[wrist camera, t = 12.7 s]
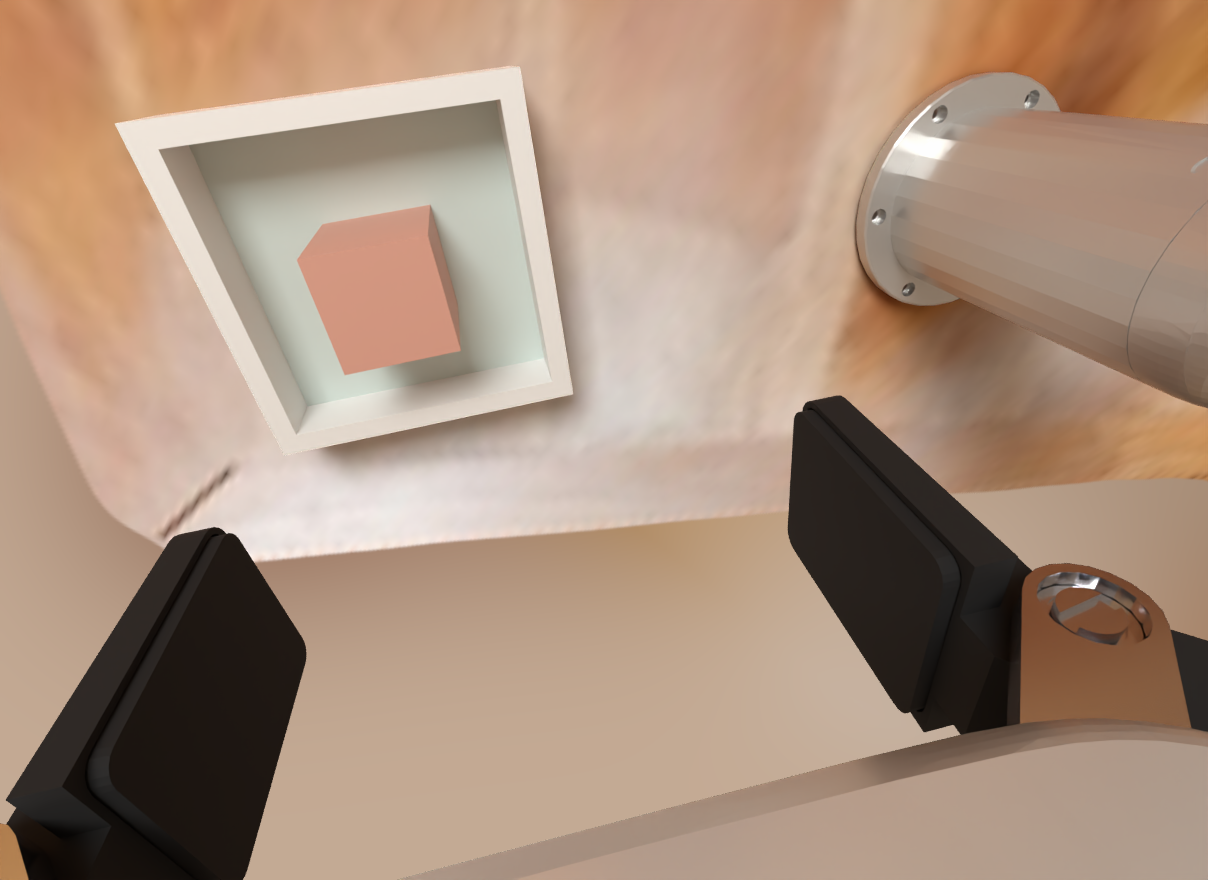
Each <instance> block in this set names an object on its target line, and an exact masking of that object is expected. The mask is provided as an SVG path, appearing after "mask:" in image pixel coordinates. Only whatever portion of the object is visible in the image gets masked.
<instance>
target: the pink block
mask: <svg viewBox="0 0 1208 880" xmlns="http://www.w3.org/2000/svg"><path fill="white" fill-rule="evenodd" d="M297 262H298V264H299V267H300V269H301V272H302V274H303V276H304V279H305V281H306V284H307V286H308V288H309V291H310V293H311V296H312V298H313V300H314V303H315V305H316V308H317V310H318V312H319V315H320V317H321V320H322V322H323V324H324V327H325V329H326V332H327V334H328V336H329V339H330V341H331V343H332V346H333V348H334V351H335V353H336V355H337V358H338V360H339V363H340V365H341V367H342V370H343V372H344V375H349V374H353V373H358V372H363V371H368V370H372V369H377V368H382V367H387V366H391V365H396V364H401V363H406V362H410V361H415V360H420V359H425V358H429V357H434V356H439V355H444V354H448V353H453V352H458V351H461V345H460V330H459V314H458V303H457V300H456V296H455V292H454V289H453V285H452V282H451V278H450V274H449V271H448V267H447V263H446V260H445V256H444V253H443V249H442V245H441V242H440V238H439V234H438V231H437V227H436V224H435V220H434V216H433V213H432V209H431V206H430V205H426V206H420V207H414V208H409V209H403V210H398V211H392V212H387V213H381V214H376V215H370V216H365V217H359V218H354V219H348V220H342V221H337V222H331V223H326V224H322V225H321V227H320V228H319V230H318V231H317V232H316V234H315V235H314V237H313V238H312V239H311V241H310V242H309V243H308V245H307V246H306V248H305V249H304V250H303V252H302V253H301V255H300V256H299V257H298V259H297Z"/></svg>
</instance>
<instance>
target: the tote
mask: <svg viewBox="0 0 1208 880" xmlns="http://www.w3.org/2000/svg"><path fill="white" fill-rule="evenodd" d="M115 125H116V127H117V129H118V131H119V133H120V135H121V137H122V139H123V141H124V143H125V145H126V147H127V149H128V151H129V153H130V155H131V157H132V159H133V161H134V163H135V164H136V166H137V168H138V170H139V172H140V174H141V176H142V178H143V180H144V182H145V184H146V186H147V188H148V190H149V192H150V194H151V196H152V198H153V200H154V202H155V204H156V206H157V208H158V210H159V212H160V214H161V216H162V217H163V219H164V221H165V223H166V225H167V227H168V229H169V231H170V233H171V235H172V237H173V239H174V241H175V243H176V245H177V247H178V249H179V251H180V253H181V255H182V257H183V259H184V261H185V263H186V265H187V267H188V269H189V270H190V272H191V274H192V276H193V278H194V280H195V282H196V284H197V286H198V288H199V290H200V292H201V294H202V296H203V298H204V300H205V302H206V304H207V306H208V308H209V310H210V312H211V314H212V316H213V318H214V320H215V322H216V323H217V325H218V327H219V329H220V331H221V333H222V335H223V337H224V339H225V341H226V343H227V345H228V347H229V349H230V351H231V353H232V355H233V357H234V359H235V361H236V363H237V365H238V367H239V369H240V371H241V373H242V375H243V376H244V378H245V380H246V382H247V384H248V386H249V388H250V390H251V392H252V394H253V396H254V398H255V400H256V402H257V404H258V406H259V408H260V410H261V412H262V414H263V416H264V418H265V420H266V422H267V424H268V426H269V427H270V429H271V431H272V433H273V435H274V437H275V439H276V441H277V443H278V445H279V447H280V449H281V451H282V453H283V455H284V456H285V455H290V454H295V453H300V452H304V451H309V450H314V449H318V448H323V447H328V446H332V445H337V444H342V443H347V442H351V441H356V440H361V439H365V438H370V437H375V436H380V435H384V434H389V433H394V432H398V431H403V430H408V429H413V428H417V427H422V426H427V425H431V424H436V423H441V422H445V421H450V420H455V419H460V418H464V417H469V416H474V415H478V414H483V413H488V412H493V411H497V410H502V409H507V408H511V407H516V406H521V405H525V404H530V403H535V402H540V401H544V400H549V399H554V398H558V397H563V396H568V395H573V389H572V383H571V377H570V371H569V365H568V359H567V352H566V346H565V340H564V334H563V328H562V322H561V316H560V309H559V303H558V297H557V291H556V285H555V279H554V273H553V266H552V260H551V254H550V248H549V242H548V236H547V230H546V223H545V217H544V211H543V205H542V199H541V193H540V187H539V180H538V174H537V168H536V162H535V156H534V150H533V144H532V137H531V131H530V125H529V119H528V113H527V107H526V101H525V94H524V88H523V82H522V76H521V70H520V67H517V66H505V67H498V68H491V69H484V70H477V71H470V72H463V73H455V74H448V75H441V76H434V77H427V78H420V79H412V80H405V81H398V82H391V83H384V84H377V85H370V86H362V87H355V88H348V89H341V90H334V91H327V92H319V93H312V94H305V95H298V96H291V97H284V98H277V99H269V100H262V101H255V102H248V103H241V104H234V105H227V106H219V107H212V108H205V109H198V110H191V111H184V112H176V113H169V114H162V115H156V116H151V117H146V118H141V119H136V120H131V121H126V122H121V123H116V124H115ZM426 205H430V206H431V209H432V213H433V216H434V220H435V224H436V227H437V231H438V234H439V238H440V242H441V245H442V249H443V253H444V256H445V260H446V263H447V267H448V271H449V274H450V278H451V282H452V285H453V289H454V292H455V296H456V300H457V303H458V314H459V330H460V345H461V351H458V352H453V353H448V354H444V355H439V356H434V357H429V358H425V359H420V360H415V361H410V362H406V363H401V364H396V365H391V366H387V367H382V368H377V369H372V370H368V371H363V372H358V373H353V374H349V375H344V372H343V370H342V367H341V365H340V363H339V360H338V358H337V355H336V353H335V351H334V348H333V346H332V343H331V341H330V339H329V336H328V334H327V332H326V329H325V327H324V324H323V322H322V320H321V317H320V315H319V312H318V310H317V308H316V305H315V303H314V300H313V298H312V296H311V293H310V291H309V288H308V286H307V284H306V281H305V279H304V276H303V274H302V272H301V269H300V267H299V264H298V262H297V259H298V257H299V256H300V255H301V253H302V252H303V250H304V249H305V248H306V246H307V245H308V243H309V242H310V241H311V239H312V238H313V237H314V235H315V234H316V232H317V231H318V230H319V228H320V227H321V225H322V224H326V223H331V222H337V221H342V220H348V219H354V218H359V217H365V216H370V215H376V214H381V213H387V212H392V211H398V210H403V209H409V208H414V207H420V206H426Z"/></svg>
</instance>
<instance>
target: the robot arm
mask: <svg viewBox="0 0 1208 880" xmlns="http://www.w3.org/2000/svg"><path fill="white" fill-rule="evenodd" d="M856 228H857V246H858V251H859V256H860V260H861V262H862V264H863V267H864V269H865V271H866V273H867V275H868V276H869V278H870V279H871V280H872V281H873V283H874V284H875V285H876V286H877V287H878V288H879V289H881V290H882V291H884V292H885V293H886V294H888V295H889V296H891V297H893V298H895V299H897V300H899V301H901V302H904V303H908V304H913V305H917V306H935V305H940V304H944V303H949V302H953V301H955V300H958V299H960V298H961V299H963V300H965V301H967V302H969V303H971V304H973V305H976V306H978V307H980V308H982V309H984V310H986V311H989V312H991V313H993V314H995V315H997V316H999V317H1002V318H1004V319H1006V320H1008V321H1010V322H1012V323H1014V324H1017V325H1019V326H1021V327H1023V328H1025V329H1027V330H1030V331H1032V332H1034V333H1036V334H1038V335H1040V336H1042V337H1045V338H1047V339H1049V340H1051V341H1053V342H1055V343H1058V344H1060V345H1062V346H1064V347H1066V348H1068V349H1071V350H1073V351H1075V352H1077V353H1079V354H1081V355H1083V356H1086V357H1088V358H1090V359H1092V360H1094V361H1096V362H1099V363H1101V364H1103V365H1105V366H1107V367H1109V368H1111V369H1114V370H1116V371H1119V372H1121V373H1123V374H1125V375H1127V376H1129V377H1131V378H1133V379H1136V380H1138V381H1140V382H1142V383H1144V384H1147V385H1149V386H1151V387H1154V388H1156V389H1158V390H1160V391H1162V392H1164V393H1167V394H1169V395H1171V396H1173V397H1175V398H1178V399H1181V400H1183V401H1186V402H1189V403H1191V404H1194V405H1197V406H1201V407H1205V408H1208V124H1198V123H1186V122H1175V121H1163V120H1151V119H1140V118H1128V117H1116V116H1105V115H1093V114H1081V113H1070V112H1061V111H1060V109H1059V107H1058V104H1057V102H1056V100H1055V98H1054V97H1053V96H1052V95H1051V94H1050V92H1049V91H1048V90H1047V89H1046V88H1045V86H1043V85H1042V84H1040V83H1039V82H1037V81H1035V80H1034V79H1032V78H1031V77H1028V76H1024V75H1020V74H1016V73H1012V72H987V73H980V74H974V75H969V76H967V77H964V78H962V79H959V80H957V81H954V82H952V83H949V84H948V85H946V86H944V87H943V88H941V89H940V90H938V91H936V92H935V93H933V94H931V95H930V96H928V97H927V98H926V99H925V100H924V101H923V102H921V103H920V104H919V105H918V106H917V107H916V108H915V109H913V110H912V111H911V112H910V113H909V114H908V115H907V116H906V117H905V119H904V120H903V121H902V122H901V123H900V124H899V125H898V127H897V128H896V129H895V130H894V131H893V132H892V134H891V135H890V137H889V138H888V140H887V142H886V143H885V145H884V146H883V148H882V149H881V151H880V152H879V154H878V156H877V158H876V160H875V162H874V164H873V166H872V168H871V170H870V172H869V174H868V176H867V179H866V182H865V185H864V189H863V192H862V195H861V198H860V203H859V209H858V215H857V221H856ZM788 535H789V539H790V542H791V545H792V547H793V549H794V550H795V552H796V553H797V555H798V557H799V558H800V560H801V561H802V563H803V564H804V566H805V567H806V569H807V570H808V572H809V573H810V575H811V577H812V578H813V580H814V581H815V583H816V584H817V586H818V587H819V589H820V590H821V592H822V593H823V595H824V596H825V598H826V600H827V601H828V603H829V604H830V606H831V607H832V609H833V610H834V612H835V613H836V615H837V617H838V618H839V620H840V621H841V623H842V624H843V626H844V627H845V629H846V630H847V632H848V634H849V635H850V636H851V638H852V640H853V641H854V643H855V644H856V646H857V647H858V649H859V650H860V652H861V654H862V655H863V656H864V658H865V660H866V661H867V663H868V664H869V666H870V667H871V669H872V670H873V672H874V674H875V675H876V677H877V678H878V680H879V681H880V683H881V684H882V686H883V687H884V689H885V691H886V692H887V694H888V695H889V697H890V698H891V699H892V701H893V703H894V704H895V705H896V707H897V708H898V709H899V710H900V711H901V712H903V713H909V712H911V714H912V715H913V717H914V718H915V719H916V721H917V723H918V724H919V726H920V727H921V729H922V730H923V732H927V731H931V730H935V729H939V728H943V727H946V726H950V725H954V726H955V727H956V729H957V730H958V731H959V733H960V734H961V735H958V736H954V737H950V738H946V739H942V740H937V741H934V742H930V743H925V744H921V745H916V746H912V747H908V748H904V749H900V750H895V751H891V752H887V753H883V754H879V755H874V756H870V757H866V758H862V759H858V760H853V761H850V762H846V763H842V764H838V765H834V766H830V767H826V768H822V769H818V770H815V771H811V772H807V773H803V774H799V775H795V776H791V777H787V778H784V779H780V780H776V781H772V782H768V783H764V784H760V785H756V786H753V787H749V788H745V789H741V790H737V791H734V792H729V793H725V794H722V795H718V796H714V797H710V798H706V799H703V800H699V801H694V802H691V803H687V804H683V805H679V806H675V807H671V808H667V809H664V810H660V811H656V812H652V813H648V814H644V815H641V816H637V817H633V818H629V819H625V820H622V821H618V822H614V823H611V824H606V825H603V826H599V827H595V828H591V829H587V830H584V831H580V832H576V833H572V834H568V835H565V836H561V837H557V838H553V839H549V840H546V841H542V842H538V843H534V844H531V845H527V846H523V847H519V848H515V849H512V850H508V851H504V852H500V853H496V854H493V855H489V856H485V857H481V858H477V859H474V860H470V861H466V862H462V863H459V864H455V865H451V866H448V867H443V868H440V869H436V870H432V871H428V872H425V873H421V874H417V875H413V876H410V877H406V878H403V879H398V880H1208V641H1207V640H1203V639H1200V638H1197V637H1194V636H1190V635H1187V634H1184V633H1180V632H1177V631H1174V630H1170V626H1169V623H1168V621H1167V619H1166V617H1165V615H1164V612H1163V611H1162V610H1161V608H1159V606H1158V605H1157V604H1156V603H1155V602H1154V601H1153V600H1152V599H1151V598H1150V596H1148V595H1147V594H1146V593H1144V592H1143V591H1141V590H1140V589H1139V588H1137V587H1136V586H1134V585H1133V584H1132V583H1130V582H1128V581H1126V580H1124V579H1122V578H1119V577H1117V576H1115V575H1113V574H1111V573H1109V572H1105V571H1102V570H1099V569H1096V568H1093V567H1090V566H1083V565H1077V564H1070V563H1064V564H1049V565H1046V566H1043V567H1039V568H1037V569H1035V570H1033V571H1032V570H1031V569H1030V568H1028V567H1027V566H1026V565H1025V564H1024V563H1023V562H1022V561H1021V560H1020V559H1019V558H1018V556H1017V555H1016V554H1015V553H1013V552H1012V551H1011V550H1010V549H1009V548H1008V547H1007V546H1006V545H1005V544H1004V543H1003V542H1001V541H1000V540H999V539H998V538H997V537H996V536H995V535H994V534H993V533H992V532H991V531H989V530H988V529H987V528H986V527H985V526H984V525H983V524H982V523H981V522H980V521H979V520H977V519H976V518H975V517H974V516H973V515H972V514H971V513H970V512H969V511H968V510H966V509H965V508H964V507H963V506H962V505H961V504H960V503H959V502H958V501H957V500H956V499H955V498H953V497H952V496H951V495H950V494H949V493H948V492H947V491H946V490H945V489H944V488H943V487H941V486H940V485H939V484H938V483H937V482H936V481H935V480H934V479H933V478H932V477H931V476H929V475H928V474H927V473H926V472H925V471H924V470H923V469H922V468H921V467H920V466H919V465H917V464H916V463H915V462H914V461H913V460H912V459H911V458H910V457H909V456H908V455H907V454H905V453H904V452H903V451H902V450H901V449H900V448H899V447H898V446H897V445H896V444H895V443H893V442H892V441H891V440H890V439H889V438H888V437H887V436H886V435H885V434H884V433H883V432H881V431H880V430H879V429H878V428H877V427H876V426H875V425H874V424H873V423H872V422H871V421H869V420H868V419H867V418H866V417H865V416H864V415H863V414H862V413H861V412H860V411H859V410H857V409H856V408H855V407H854V406H853V405H852V404H851V403H850V402H849V401H848V400H847V399H845V398H844V397H842V396H833V397H828V398H823V399H818V400H814V401H809V402H807V403H805V405H804V407H803V411H802V412H798V413H797V414H796V415H795V418H794V429H793V446H792V463H791V481H790V498H789V516H788ZM305 662H306V646H305V643H304V640H303V638H302V637H301V635H300V634H299V632H298V631H297V629H296V627H295V626H294V624H293V623H292V621H291V620H290V618H289V617H288V615H287V613H286V612H285V610H284V609H283V607H282V606H281V604H280V602H279V601H278V599H277V598H276V596H275V595H274V593H273V591H272V590H271V588H270V587H269V585H268V584H267V582H266V581H265V579H264V577H263V576H262V574H261V573H260V571H259V570H258V568H257V566H256V565H255V563H254V562H253V560H252V559H251V557H250V556H249V554H248V552H247V551H246V549H245V548H244V546H243V545H242V543H241V541H240V540H239V539H238V537H237V536H236V535H234V534H231V533H228V534H226V533H225V532H224V531H223V530H222V529H220V528H216V527H213V528H208V529H203V530H198V531H194V532H189V533H184V534H179V535H177V536H174V537H173V538H172V539H171V540H170V541H169V543H168V544H167V546H166V548H165V549H164V551H163V552H162V554H161V555H160V557H159V559H158V560H157V562H156V563H155V565H154V567H153V568H152V570H151V571H150V573H149V574H148V576H147V578H146V579H145V581H144V582H143V584H142V585H141V587H140V589H139V590H138V592H137V593H136V595H135V597H134V598H133V600H132V601H131V603H130V604H129V606H128V608H127V609H126V611H125V612H124V614H123V616H122V617H121V619H120V620H119V622H118V624H117V625H116V627H115V628H114V630H113V631H112V633H111V634H110V636H109V638H108V639H107V641H106V642H105V644H104V646H103V647H102V649H101V650H100V652H99V653H98V655H97V657H96V658H95V660H94V661H93V663H92V664H91V666H90V668H89V669H88V671H87V673H86V674H85V675H84V677H83V679H82V680H81V682H80V683H79V685H78V687H77V688H76V690H75V691H74V693H73V695H72V696H71V698H70V699H69V701H68V702H67V704H66V705H65V707H64V709H63V710H62V712H61V713H60V715H59V717H58V718H57V720H56V721H55V723H54V724H53V726H52V728H51V729H50V731H49V732H48V734H47V735H46V737H45V739H44V740H43V742H42V743H41V745H40V747H39V748H38V750H37V751H36V753H35V755H34V756H33V758H32V759H31V761H30V762H29V764H28V765H27V767H26V769H25V771H24V772H23V773H22V775H21V777H20V778H19V780H18V781H17V783H16V785H15V786H14V788H13V789H12V791H11V792H10V794H9V796H8V797H7V799H6V801H8V802H9V803H10V804H12V805H13V806H15V807H16V809H15V811H14V813H13V814H12V816H11V818H10V819H9V821H8V822H7V824H1V823H0V880H243V878H244V877H245V874H246V872H247V869H248V865H249V862H250V858H251V855H252V851H253V848H254V844H255V841H256V837H257V833H258V830H259V826H260V823H261V819H262V816H263V812H264V808H265V805H266V801H267V798H268V794H269V791H270V787H271V783H272V780H273V776H274V773H275V769H276V766H277V762H278V759H279V755H280V752H281V748H282V744H283V741H284V737H285V734H286V730H287V726H288V723H289V719H290V716H291V712H292V709H293V705H294V702H295V698H296V695H297V691H298V687H299V684H300V680H301V677H302V673H303V669H304V666H305Z"/></svg>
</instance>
